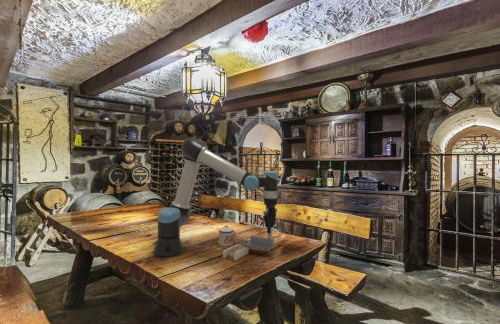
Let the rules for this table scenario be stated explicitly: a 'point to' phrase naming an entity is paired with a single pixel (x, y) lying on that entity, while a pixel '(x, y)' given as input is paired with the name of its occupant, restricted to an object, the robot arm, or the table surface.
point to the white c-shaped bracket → (238, 254)
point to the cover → (259, 243)
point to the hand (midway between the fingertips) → (269, 238)
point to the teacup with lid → (226, 236)
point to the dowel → (231, 255)
